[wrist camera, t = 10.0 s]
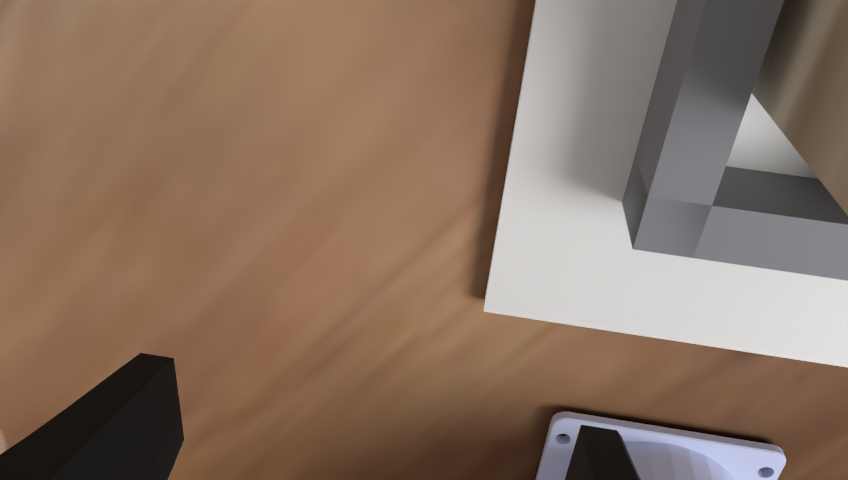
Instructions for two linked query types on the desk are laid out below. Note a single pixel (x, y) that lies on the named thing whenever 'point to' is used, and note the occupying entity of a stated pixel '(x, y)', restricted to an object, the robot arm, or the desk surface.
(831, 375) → the desk surface
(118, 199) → the desk surface
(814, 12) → the key block
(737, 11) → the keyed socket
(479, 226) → the desk surface
